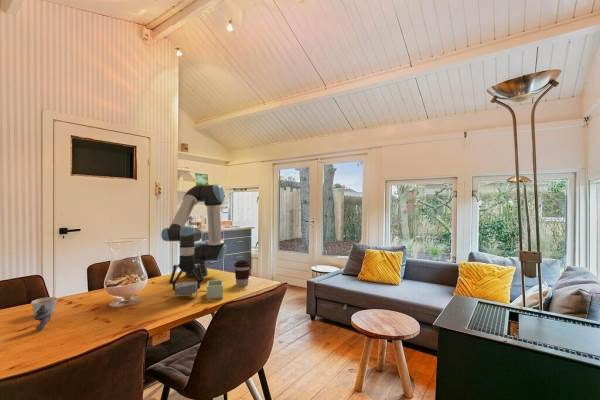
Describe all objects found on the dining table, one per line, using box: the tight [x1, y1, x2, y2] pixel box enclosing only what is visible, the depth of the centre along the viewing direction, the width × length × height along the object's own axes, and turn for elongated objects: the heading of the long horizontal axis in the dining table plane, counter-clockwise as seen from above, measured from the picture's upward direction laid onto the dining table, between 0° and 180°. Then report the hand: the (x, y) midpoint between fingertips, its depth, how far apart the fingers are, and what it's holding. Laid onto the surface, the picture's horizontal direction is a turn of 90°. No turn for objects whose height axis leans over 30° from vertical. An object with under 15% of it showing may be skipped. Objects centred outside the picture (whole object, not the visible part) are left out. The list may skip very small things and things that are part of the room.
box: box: [206, 279, 224, 301], centre depth 164 cm, size 12×8×7 cm
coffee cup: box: [233, 259, 251, 287], centre depth 186 cm, size 10×10×15 cm
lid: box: [174, 281, 197, 296], centre depth 161 cm, size 13×10×4 cm
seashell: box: [34, 304, 53, 331], centre depth 119 cm, size 5×5×10 cm
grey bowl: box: [31, 296, 58, 317], centre depth 135 cm, size 9×9×6 cm
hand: (186, 295), depth 161 cm, fingers closed on lid, 10 cm apart
